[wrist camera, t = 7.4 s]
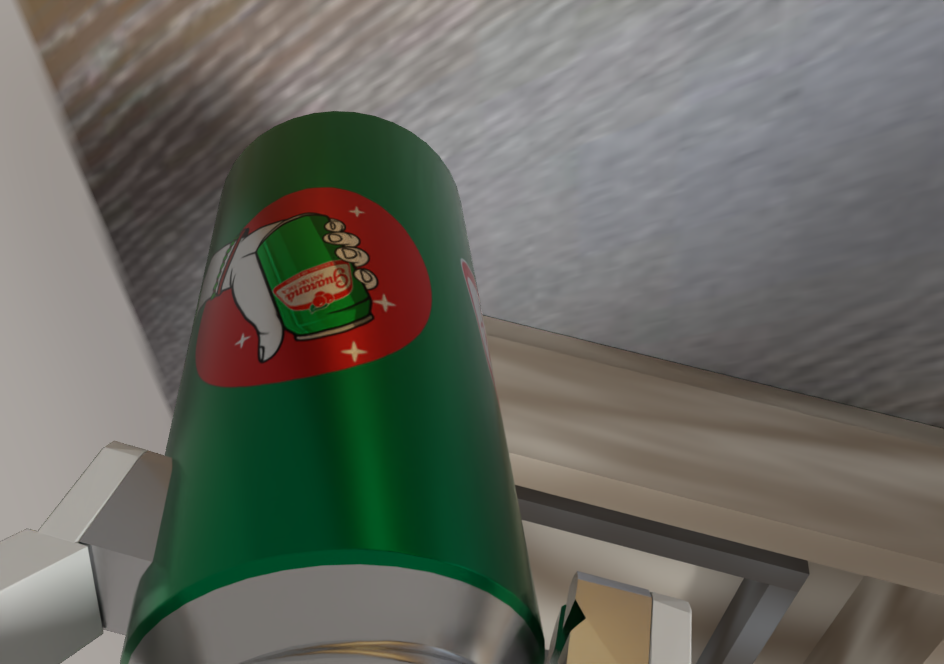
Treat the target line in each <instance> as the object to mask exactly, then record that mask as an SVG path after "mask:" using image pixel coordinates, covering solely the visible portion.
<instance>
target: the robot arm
mask: <svg viewBox="0 0 944 664" xmlns="http://www.w3.org/2000/svg"><path fill="white" fill-rule="evenodd" d="M171 472H172V458H171V457H168V456H164V455H161V454H158V453H154V452H151V451H148V450H145V449H141V448H138V447H134V446H131V445H127V444H124V443H120V442H117V441H113V442H112V443H110V444H108V445H107V446H106V447H104V448H103V449H102V450H101V451H100V452H99V453H98V455H97V456H96V457H95V459H94V460H93V461H92V462H91V464H90V465H89V466H88V468H87V469H86V470H85V471H84V472H83V474H82V475H81V476H80V478H79V479H78V480H77V481H76V483H75V484H74V485H73V487H72V488H71V489H70V490H69V492H68V493H67V494H66V496H65V497H64V498H63V499H62V501H61V502H60V503H59V504H58V506H57V507H56V508H55V510H54V511H53V512H52V513H51V515H50V516H49V517H48V518H47V520H46V521H45V523H44V524H43V525H42V526H41V527H40V529H39V530H38V531H35V530H31V529H25V530H23V531H21V532H19V533H17V534H15V535H12V536H10V537H8V538H6V539H4V540H2V541H0V664H60V663H62V662H63V661H64V660H66V659H67V658H69V657H70V656H72V655H73V654H75V653H76V652H77V651H79V650H80V649H81V648H83V647H85V646H86V645H87V644H89V643H90V642H92V641H93V640H95V639H96V638H98V637H99V636H100V635H102V634H103V629H104V630H107V631H111V632H115V633H119V634H122V635H126V632H127V627H128V623H129V618H130V614H131V609H132V604H133V600H134V595H135V592H136V589H137V586H138V583H139V580H140V578H141V576H142V575H143V574H144V572H145V571H146V570H147V568H148V567H149V566H150V564H151V563H152V562H153V557H154V553H155V548H156V543H157V538H158V534H159V529H160V524H161V520H162V515H163V510H164V506H165V501H166V496H167V491H168V486H169V481H170V477H171ZM691 630H692V610H691V607H690V605H689V602H687V601H684V600H681V599H677V598H673V597H669V596H666V595H662V594H658V593H655V592H649V590H648V589H644V588H640V587H636V586H633V585H629V584H625V583H621V582H617V581H614V580H610V579H606V578H602V577H598V576H595V575H591V574H587V573H583V572H580V571H577V572H576V573H575V574H574V576H573V579H572V581H571V584H570V586H569V592H568V598H567V604H566V605H563V606H561V609H560V612H559V615H558V618H557V620H556V624H555V627H554V631H553V634H552V638H551V642H550V647H549V652H548V657H547V663H546V664H691Z"/></svg>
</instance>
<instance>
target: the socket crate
mask: <svg viewBox="0 0 944 664" xmlns="http://www.w3.org/2000/svg"><path fill="white" fill-rule="evenodd" d="M483 321H484V326H485V331H486V336H487V341H488V347H489V352H490V357H491V362H492V368H493V373H494V378H495V383H496V388H497V394H498V399H499V404H500V409H501V414H502V420H503V425H504V430H505V435H506V441H507V446H508V451H509V456H510V461H511V467H512V472H513V477H514V482H515V488H516V493H517V498H518V503H519V508H520V514H521V519H522V524H523V529H524V534H525V540H526V545H527V550H528V555H529V561H530V566H531V571H532V576H533V581H534V587H535V592H536V597H537V602H538V608H539V613H540V618H541V623H542V628H543V634H544V639H545V661H544V664H546V663H547V657H548V652H549V647H550V642H551V638H552V634H553V631H554V627H555V624H556V620H557V618H558V615H559V612H560V609H561V606H563V605H566V604H567V598H568V592H569V586H570V584H571V581H572V579H573V576H574V574H575V573H576V572H577V571H580V572H583V573H587V574H591V575H595V576H598V577H602V578H606V579H610V580H614V581H617V582H621V583H625V584H629V585H633V586H636V587H640V588H644V589H648V590H649V592H655V593H658V594H662V595H666V596H669V597H673V598H677V599H681V600H684V601H687V602H689V605H690V607H691V610H692V630H691V664H944V429H942V428H938V427H934V426H930V425H926V424H922V423H918V422H914V421H910V420H906V419H901V418H897V417H893V416H889V415H885V414H881V413H877V412H873V411H869V410H865V409H861V408H857V407H853V406H849V405H845V404H841V403H837V402H832V401H828V400H824V399H820V398H816V397H812V396H808V395H804V394H800V393H796V392H792V391H788V390H784V389H780V388H776V387H772V386H767V385H763V384H759V383H755V382H751V381H747V380H743V379H739V378H735V377H731V376H727V375H723V374H719V373H715V372H711V371H707V370H702V369H698V368H694V367H690V366H686V365H682V364H678V363H674V362H670V361H666V360H662V359H658V358H654V357H650V356H646V355H642V354H638V353H633V352H629V351H625V350H621V349H617V348H613V347H609V346H605V345H601V344H597V343H593V342H589V341H585V340H581V339H577V338H573V337H568V336H564V335H560V334H556V333H552V332H548V331H544V330H540V329H536V328H532V327H528V326H524V325H520V324H516V323H512V322H508V321H503V320H499V319H495V318H491V317H487V316H483Z"/></svg>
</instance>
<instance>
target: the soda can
mask: <svg viewBox="0 0 944 664" xmlns="http://www.w3.org/2000/svg"><path fill="white" fill-rule="evenodd" d="M165 456H168V457H171V458H172V472H171V477H170V481H169V486H168V491H167V496H166V501H165V506H164V510H163V515H162V520H161V524H160V529H159V534H158V538H157V543H156V548H155V553H154V557H153V562H152V563H151V564H150V566H149V567H148V568H147V570H146V571H145V572H144V574H143V575H142V576H141V578H140V580H139V583H138V586H137V589H136V592H135V595H134V600H133V604H132V609H131V614H130V618H129V623H128V627H127V632H126V637H125V641H124V646H123V651H122V655H121V660H120V664H544V661H545V639H544V634H543V628H542V623H541V618H540V613H539V608H538V602H537V597H536V592H535V587H534V581H533V576H532V571H531V566H530V561H529V555H528V550H527V545H526V540H525V534H524V529H523V524H522V519H521V514H520V508H519V503H518V498H517V493H516V488H515V482H514V477H513V472H512V467H511V461H510V456H509V451H508V446H507V441H506V435H505V430H504V425H503V420H502V414H501V409H500V404H499V399H498V394H497V388H496V383H495V378H494V373H493V368H492V362H491V357H490V352H489V347H488V341H487V336H486V331H485V326H484V321H483V315H482V310H481V305H480V300H479V294H478V289H477V284H476V279H475V274H474V268H473V263H472V258H471V253H470V248H469V242H468V237H467V232H466V227H465V221H464V216H463V211H462V206H461V201H460V197H459V193H458V190H457V186H456V184H455V182H454V180H453V177H452V175H451V173H450V171H449V170H448V168H447V167H446V165H445V164H444V162H443V161H442V160H441V158H440V157H439V156H438V154H437V153H436V152H435V151H434V150H433V149H432V148H431V147H430V146H429V145H428V144H427V143H426V142H424V141H423V140H421V139H420V138H419V137H417V136H416V135H415V134H413V133H412V132H410V131H409V130H407V129H405V128H403V127H401V126H399V125H397V124H395V123H393V122H390V121H387V120H385V119H382V118H379V117H376V116H372V115H367V114H361V113H356V112H339V111H331V112H321V113H313V114H309V115H305V116H301V117H297V118H293V119H291V120H288V121H286V122H284V123H281V124H279V125H277V126H275V127H273V128H272V129H270V130H268V131H267V132H265V133H264V134H262V135H260V136H259V137H258V138H257V139H256V140H254V141H253V142H252V143H251V144H250V145H249V146H248V147H247V148H246V149H245V150H244V151H243V152H242V154H241V155H240V156H239V157H238V159H237V160H236V161H235V163H234V164H233V166H232V168H231V170H230V172H229V174H228V176H227V178H226V180H225V183H224V187H223V190H222V194H221V198H220V202H219V207H218V212H217V216H216V221H215V226H214V230H213V235H212V239H211V244H210V249H209V253H208V258H207V263H206V267H205V272H204V276H203V281H202V286H201V290H200V295H199V299H198V304H197V309H196V313H195V318H194V323H193V327H192V332H191V336H190V341H189V346H188V350H187V355H186V360H185V364H184V369H183V373H182V378H181V383H180V387H179V392H178V396H177V401H176V406H175V410H174V415H173V420H172V424H171V429H170V433H169V438H168V443H167V447H166V452H165Z"/></svg>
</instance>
